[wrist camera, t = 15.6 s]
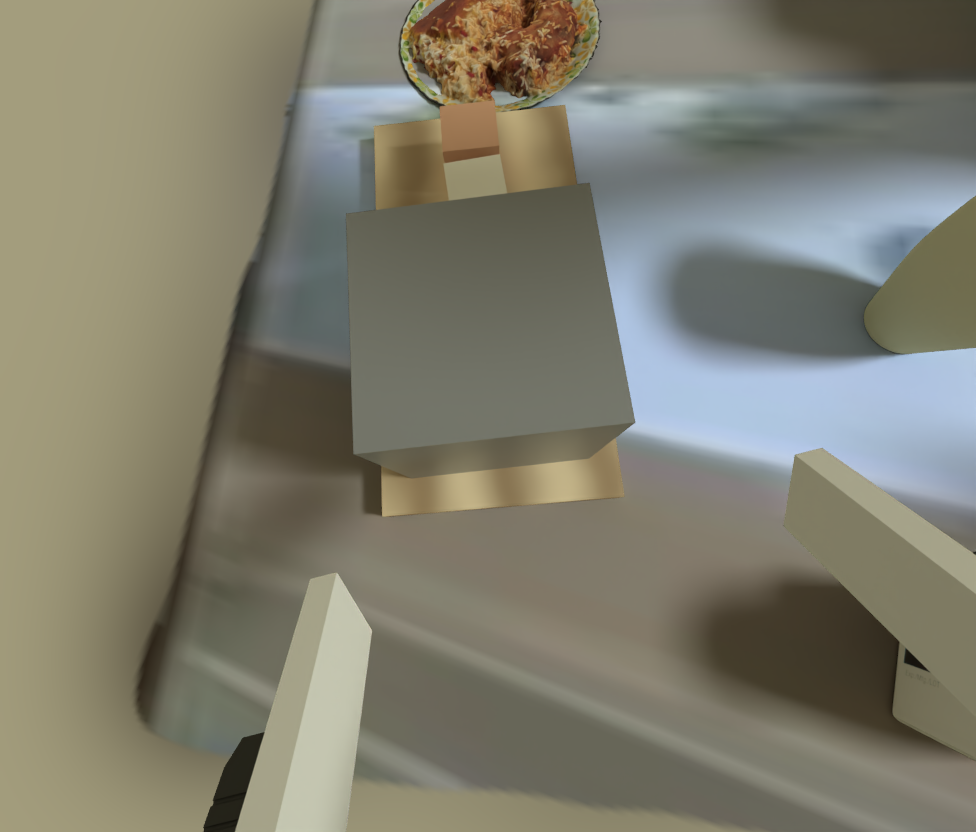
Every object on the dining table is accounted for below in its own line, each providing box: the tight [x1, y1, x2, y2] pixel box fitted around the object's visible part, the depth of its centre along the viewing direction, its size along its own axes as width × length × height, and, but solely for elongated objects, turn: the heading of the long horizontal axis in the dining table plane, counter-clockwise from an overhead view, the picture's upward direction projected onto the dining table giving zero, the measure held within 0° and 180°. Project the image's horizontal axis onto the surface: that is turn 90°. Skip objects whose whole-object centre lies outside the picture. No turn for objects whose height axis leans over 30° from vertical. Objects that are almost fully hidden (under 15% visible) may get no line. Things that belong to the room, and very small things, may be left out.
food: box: [400, 0, 602, 113], centre depth 39 cm, size 18×18×3 cm
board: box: [374, 105, 624, 517], centre depth 33 cm, size 16×32×2 cm, turn 5°
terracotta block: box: [440, 100, 499, 163], centre depth 33 cm, size 4×4×4 cm
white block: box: [443, 154, 507, 201], centre depth 32 cm, size 4×4×4 cm
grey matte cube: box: [346, 183, 635, 478], centre depth 25 cm, size 12×12×11 cm
